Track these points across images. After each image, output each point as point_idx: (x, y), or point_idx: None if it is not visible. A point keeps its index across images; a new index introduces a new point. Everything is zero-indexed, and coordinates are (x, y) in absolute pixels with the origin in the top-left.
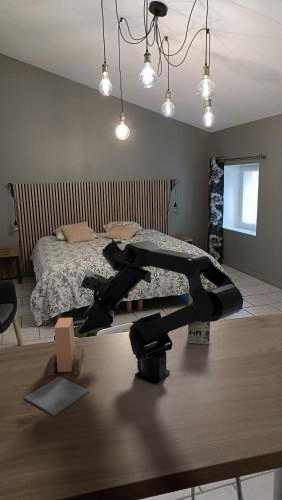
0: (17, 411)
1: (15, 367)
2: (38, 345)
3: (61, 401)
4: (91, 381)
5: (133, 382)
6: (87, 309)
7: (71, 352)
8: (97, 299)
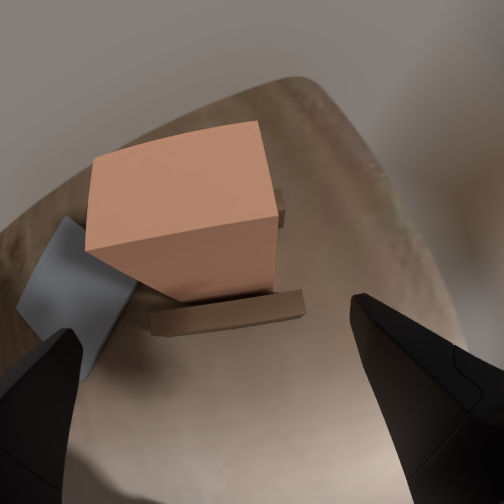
0: (37, 223)
1: (208, 125)
2: (348, 134)
3: (44, 313)
4: (131, 384)
5: (145, 500)
6: (412, 326)
7: (175, 290)
8: (487, 472)
